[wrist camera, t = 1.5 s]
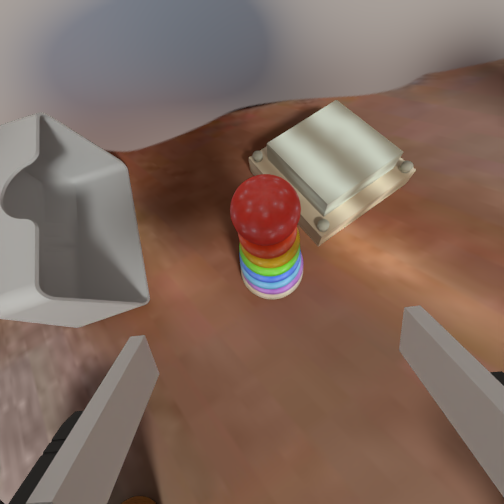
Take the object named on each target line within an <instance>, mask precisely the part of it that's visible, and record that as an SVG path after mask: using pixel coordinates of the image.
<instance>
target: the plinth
mask: <svg viewBox="0 0 504 504" xmlns="http://www.w3.org/2000/svg"><path fill="white" fill-rule="evenodd" d="M402 154H403V151H402V150H400V149H399V148H398V147H397V146H395V145H394V144H393V143H391V142H390V141H389V140H387V139H386V138H385V137H384V136H382V135H381V134H380V133H378V132H377V131H376V130H375V129H373V128H372V127H371V126H369V125H368V124H367V123H366V122H364V121H363V120H362V119H360V118H359V117H358V116H357V115H355V114H354V113H353V112H351V111H350V110H349V109H348V108H346V107H345V106H344V105H342V104H341V103H340V102H339V101H337V100H335V101H334V102H332V103H330V104H329V105H327V106H326V107H324V108H322V109H321V110H319V111H318V112H316V113H314V114H313V115H311V116H310V117H308V118H306V119H305V120H303V121H302V122H300V123H298V124H297V125H295V126H294V127H292V128H291V129H289V130H287V131H286V132H284V133H283V134H281V135H279V136H278V137H276V138H275V139H273V140H271V141H270V142H268V143H267V146H266V147H265V148H263V149H262V150H260V151H255V152H254V153H253V155H252V156H250V157H249V164H250V171H251V172H252V173H253V175H254V176H256V175H261V174H271V175H275V176H278V177H281V178H283V179H284V180H286V181H287V182H288V183H290V184H291V185H292V187H293V188H294V189H295V191H296V192H297V194H298V197H299V200H300V205H301V214H300V219H299V222H298V225H299V226H300V227H301V228H302V229H303V230H304V231H305V232H306V233H307V235H308V236H309V237H310V238H311V239H312V240H313V241H314V242H315V243H316V245H317V246H320V245H321V244H322V243H324V242H325V241H327V240H328V239H329V238H331V237H332V236H334V235H335V234H336V233H338V232H339V231H340V230H342V229H343V228H345V227H346V226H347V225H349V224H350V223H352V222H353V221H354V220H356V219H357V218H359V217H360V216H361V215H363V214H364V213H366V212H367V211H368V210H370V209H371V208H373V207H374V206H375V205H377V204H378V203H380V202H381V201H382V200H384V199H385V198H387V197H388V196H389V195H391V194H392V193H393V192H395V191H396V190H398V189H399V188H400V187H402V186H403V185H405V184H406V183H407V181H408V180H409V179H410V177H411V176H412V175H413V173H414V172H415V171H416V169H414V168H413V163H412V162H410V161H404V160H403V159H402V158H400V157H401V155H402Z"/></svg>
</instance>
